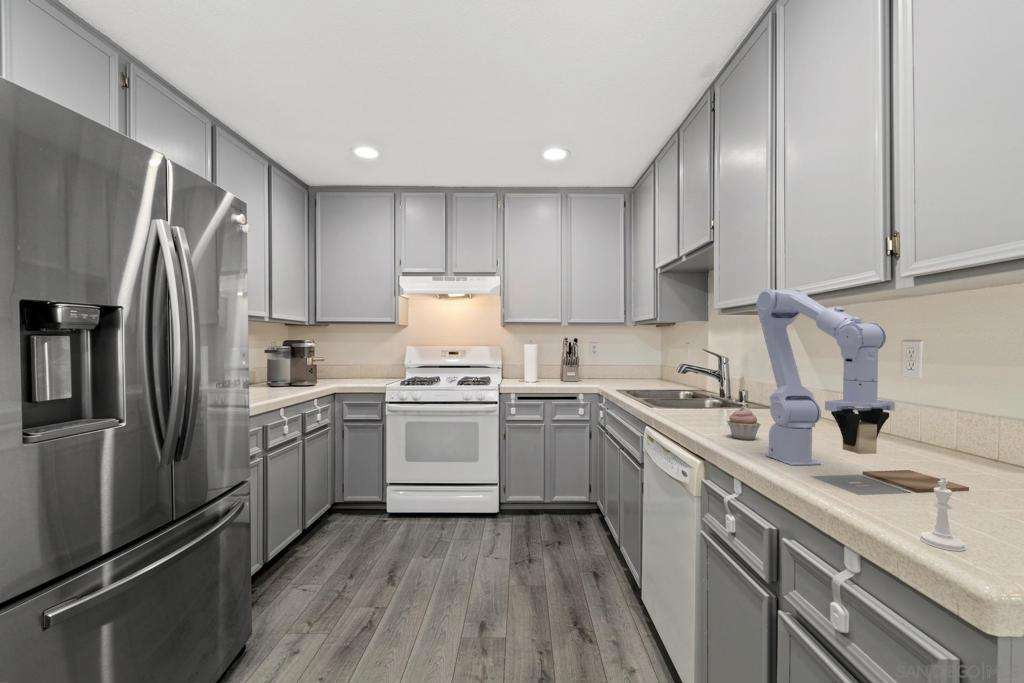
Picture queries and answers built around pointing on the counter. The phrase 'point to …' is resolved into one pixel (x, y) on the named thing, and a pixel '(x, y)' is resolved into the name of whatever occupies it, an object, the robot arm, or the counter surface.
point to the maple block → (864, 439)
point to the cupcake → (743, 424)
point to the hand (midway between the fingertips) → (859, 444)
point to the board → (912, 480)
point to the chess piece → (942, 522)
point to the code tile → (860, 484)
